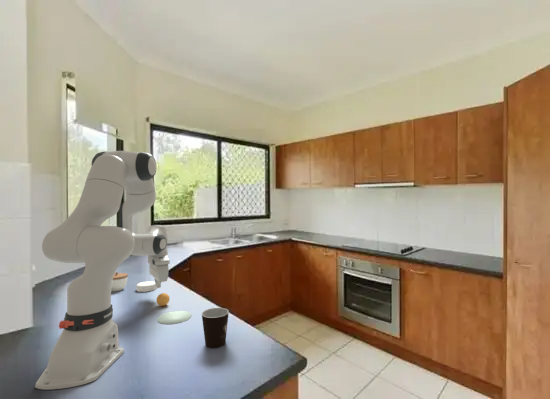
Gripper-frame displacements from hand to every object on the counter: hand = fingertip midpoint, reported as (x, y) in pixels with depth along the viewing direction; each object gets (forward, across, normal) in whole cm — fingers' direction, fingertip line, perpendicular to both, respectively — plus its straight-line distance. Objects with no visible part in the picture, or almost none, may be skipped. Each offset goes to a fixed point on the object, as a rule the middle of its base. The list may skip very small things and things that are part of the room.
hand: (158, 287), depth 136 cm
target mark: (+6, +27, 0) cm, 27 cm away
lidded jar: (+7, -32, -14) cm, 35 cm away
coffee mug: (+6, +56, +5) cm, 57 cm away
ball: (+3, +10, 0) cm, 10 cm away
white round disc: (+7, -22, 0) cm, 23 cm away
